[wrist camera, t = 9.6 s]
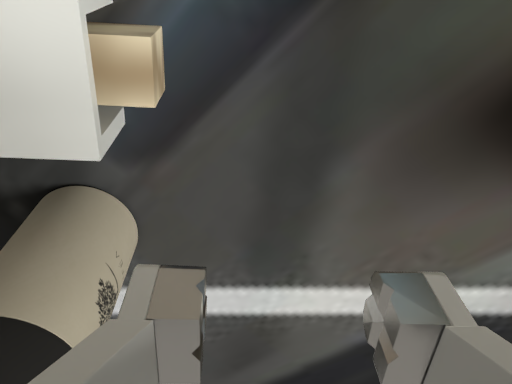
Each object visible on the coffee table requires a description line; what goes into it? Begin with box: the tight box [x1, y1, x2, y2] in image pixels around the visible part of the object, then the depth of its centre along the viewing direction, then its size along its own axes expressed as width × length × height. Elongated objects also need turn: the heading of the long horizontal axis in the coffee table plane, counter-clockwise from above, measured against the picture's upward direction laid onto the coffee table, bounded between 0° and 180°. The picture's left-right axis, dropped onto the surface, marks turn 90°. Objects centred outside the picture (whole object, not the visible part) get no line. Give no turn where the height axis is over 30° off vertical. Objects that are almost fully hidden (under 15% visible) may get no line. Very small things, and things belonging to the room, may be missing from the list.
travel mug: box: [0, 186, 138, 384], centre depth 26 cm, size 8×8×18 cm
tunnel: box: [0, 0, 125, 161], centre depth 25 cm, size 9×8×6 cm
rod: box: [87, 22, 165, 108], centre depth 26 cm, size 4×18×4 cm, turn 87°
